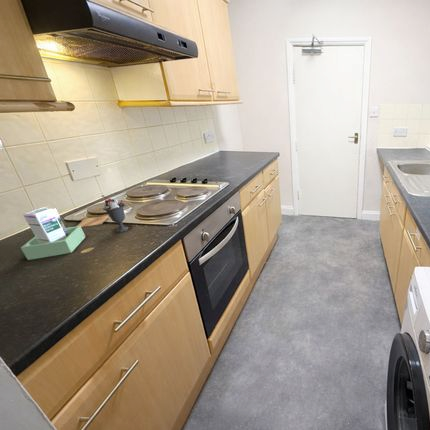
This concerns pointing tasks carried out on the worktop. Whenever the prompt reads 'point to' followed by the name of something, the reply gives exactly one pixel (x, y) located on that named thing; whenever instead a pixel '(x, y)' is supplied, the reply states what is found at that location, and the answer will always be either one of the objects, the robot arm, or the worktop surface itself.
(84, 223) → the wooden mat
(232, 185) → the worktop surface
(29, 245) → the green square tray
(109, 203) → the sundae
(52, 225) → the syrup box
